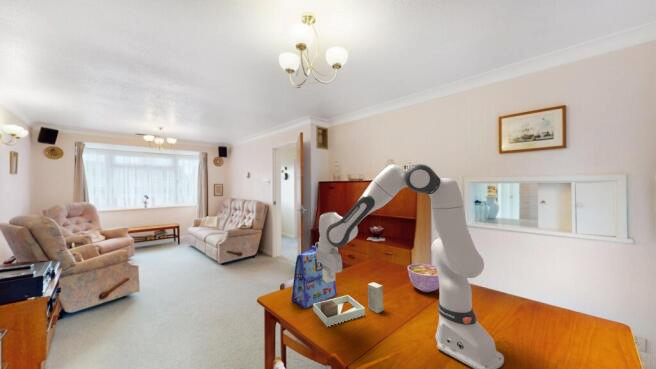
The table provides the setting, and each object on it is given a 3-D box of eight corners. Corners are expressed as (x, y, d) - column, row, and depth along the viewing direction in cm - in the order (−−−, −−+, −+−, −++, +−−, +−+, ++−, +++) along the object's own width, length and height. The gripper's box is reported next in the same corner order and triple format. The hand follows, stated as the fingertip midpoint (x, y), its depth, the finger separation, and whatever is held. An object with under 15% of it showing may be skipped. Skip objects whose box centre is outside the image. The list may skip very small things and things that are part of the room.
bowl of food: (401, 288, 142) (400, 269, 142) (417, 279, 155) (417, 261, 155) (435, 300, 127) (434, 278, 127) (450, 289, 141) (450, 269, 141)
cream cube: (326, 282, 110) (326, 271, 110) (322, 279, 114) (322, 268, 114) (335, 280, 112) (335, 270, 112) (330, 277, 116) (330, 267, 116)
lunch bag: (305, 310, 119) (305, 251, 119) (290, 300, 129) (290, 246, 129) (337, 296, 133) (337, 244, 133) (322, 288, 144) (321, 240, 144)
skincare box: (383, 310, 118) (383, 285, 118) (377, 313, 115) (377, 288, 115) (373, 305, 123) (373, 281, 123) (367, 308, 120) (367, 283, 120)
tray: (364, 315, 114) (364, 307, 114) (326, 327, 105) (326, 318, 105) (348, 301, 127) (348, 294, 127) (313, 311, 118) (313, 303, 118)
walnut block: (337, 316, 112) (337, 305, 112) (326, 319, 109) (326, 308, 109) (331, 310, 117) (331, 299, 117) (320, 313, 115) (320, 302, 115)
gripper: (345, 251, 106) (345, 282, 106) (325, 241, 124) (325, 268, 124) (332, 252, 103) (333, 285, 103) (313, 242, 121) (314, 270, 121)
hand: (328, 275), depth 113 cm, fingers closed on cream cube, 4 cm apart
